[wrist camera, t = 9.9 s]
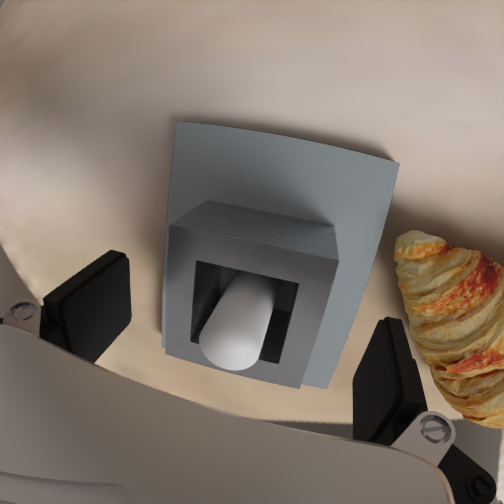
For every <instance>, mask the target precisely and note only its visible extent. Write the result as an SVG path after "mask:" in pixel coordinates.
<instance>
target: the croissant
mask: <svg viewBox="0 0 504 504" xmlns="http://www.w3.org/2000/svg"><path fill="white" fill-rule="evenodd" d="M394 260H395V261H396V262H397V263H398V265H397V266H396V274H397V275H398V286H399V287H400V289H401V292H402V295H403V302H404V306H405V311H406V312H407V314H408V319H409V322H410V325H409V327H410V333H411V336H412V339H413V341H414V343H415V345H416V347H417V349H418V351H419V353H420V355H421V356H422V357H423V359H424V360H425V361H427V362H428V363H429V364H430V370H431V374H432V378H433V380H434V383H435V385H436V386H437V388H438V390H439V391H440V392H441V393H442V395H443V396H444V397H445V400H446V401H447V402H448V403H449V404H450V405H451V406H452V407H453V408H454V409H455V410H457V411H458V412H460V413H461V414H462V415H463V418H465V419H467V420H468V421H473V422H474V423H477V424H480V425H482V426H484V427H489V428H504V266H503V265H500V264H498V263H497V262H495V261H494V260H492V259H491V258H490V257H489V256H487V255H486V254H485V253H483V252H482V251H477V250H475V251H473V250H470V249H469V250H466V249H464V248H462V247H461V248H451V246H450V245H448V243H447V241H445V240H444V239H442V238H441V237H436V236H432V235H428V234H425V233H424V232H422V231H417V230H410V231H408V232H406V233H405V234H402V235H400V236H399V237H398V238H397V239H396V242H395V249H394Z"/></svg>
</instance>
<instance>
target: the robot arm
mask: <svg viewBox="0 0 504 504" xmlns="http://www.w3.org/2000/svg"><path fill="white" fill-rule="evenodd" d="M43 301H44V305H43V306H40V305H39V303H37V302H36V301H33V300H19V301H17V302H14V303H13V304H11V305H9V307H8V308H7V309H6V311H5V314H4V318H0V504H503V503H502V501H501V500H499V501H498V502H497V501H496V500H495V499H494V498H495V495H496V484H495V481H494V479H493V478H492V476H491V475H490V474H489V473H488V472H486V471H485V470H484V469H483V468H481V467H480V466H479V465H478V464H477V463H475V462H474V461H473V460H472V459H470V458H469V457H468V456H467V455H466V454H464V453H463V452H462V451H461V450H459V449H458V448H457V447H456V446H454V445H453V444H452V443H453V441H454V439H455V429H454V426H453V424H452V423H451V421H450V420H449V419H448V418H447V417H446V416H444V415H442V414H441V413H438V412H435V411H428V408H427V404H426V399H425V395H424V391H423V387H422V382H421V378H420V375H419V371H418V367H417V363H416V361H415V359H413V358H412V355H411V351H410V347H409V344H408V340H407V336H406V333H405V330H404V326H403V323H402V320H401V319H396V318H391V317H385V318H384V320H381V319H380V320H379V321H378V323H377V326H376V328H375V330H374V333H373V335H372V337H371V340H370V342H369V344H368V346H367V349H366V351H365V353H364V355H363V357H362V360H361V362H360V364H359V366H358V368H357V370H356V372H355V375H354V378H353V384H352V385H353V439H347V438H341V437H336V436H330V435H324V434H319V433H314V432H309V431H304V430H299V429H294V428H289V427H284V426H280V425H275V424H271V423H267V422H263V421H259V420H255V419H251V418H247V417H243V416H240V415H236V414H233V413H229V412H225V411H222V410H219V409H215V408H212V407H209V406H205V405H202V404H199V403H196V402H193V401H190V400H187V399H184V398H181V397H178V396H175V395H172V394H169V393H166V392H163V391H161V390H158V389H155V388H152V387H150V386H147V385H145V384H142V383H139V382H137V381H134V380H132V379H129V378H127V377H124V376H122V375H119V374H117V373H115V372H112V371H110V370H108V369H105V368H103V367H101V366H98V365H96V364H94V363H95V362H96V360H97V359H98V358H99V357H100V356H101V355H102V354H103V353H104V351H105V350H106V349H107V348H108V347H109V346H110V345H111V344H112V342H113V341H114V340H115V339H116V338H117V337H118V336H119V335H120V333H121V332H122V331H123V330H124V329H125V328H126V327H127V326H128V325H129V323H130V321H131V317H132V313H131V294H130V266H129V259H128V258H126V254H125V253H122V252H118V251H115V250H110V251H108V252H107V253H105V254H104V255H102V256H101V257H99V258H98V259H96V260H95V261H94V262H92V263H91V264H89V265H88V266H86V267H85V268H84V269H82V270H81V271H79V272H78V273H77V274H75V275H74V276H72V277H71V278H70V279H68V280H67V281H65V282H64V283H63V284H61V285H60V286H59V287H57V288H56V289H54V290H53V291H52V292H50V293H49V294H48V295H46V296H45V297H44V298H43Z"/></svg>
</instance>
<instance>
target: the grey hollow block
mask: <svg viewBox="0 0 504 504" xmlns="http://www.w3.org/2000/svg"><path fill="white" fill-rule="evenodd" d="M338 263H339V254H338V247H337V240H336V233H335V227H334V226H333V225H328V224H323V223H319V222H314V221H310V220H305V219H300V218H296V217H291V216H286V215H281V214H276V213H271V212H266V211H261V210H256V209H251V208H246V207H241V206H236V205H231V204H225V203H220V202H215V201H209V200H207V201H205V202H204V203H202V204H201V205H199V206H197V207H196V208H194V209H193V210H191V211H189V212H188V213H186V214H185V215H183V216H182V217H180V218H178V219H177V220H175V221H174V222H172V223H171V224H169V239H168V258H167V282H166V336H165V345H166V354H167V355H170V356H173V357H177V358H180V359H183V360H186V361H190V362H193V363H196V364H200V365H203V366H207V367H210V368H214V369H218V370H221V371H225V372H229V373H233V374H237V375H240V376H244V377H248V378H253V379H257V380H261V381H265V382H270V383H274V384H279V385H283V386H288V387H293V388H298V389H299V388H300V386H301V383H302V380H303V377H304V374H305V371H306V368H307V365H308V362H309V359H310V356H311V353H312V350H313V347H314V344H315V341H316V338H317V335H318V332H319V329H320V325H321V322H322V319H323V316H324V312H325V309H326V306H327V302H328V299H329V296H330V292H331V289H332V285H333V282H334V278H335V274H336V271H337V267H338ZM222 266H224V267H229V268H233V269H238V270H242V271H246V272H251V273H255V274H260V275H264V276H269V277H273V278H278V279H282V280H287V281H291V282H296V287H295V291H294V295H293V299H292V304H291V308H290V312H288V311H283V310H279V309H274V308H273V310H272V314H271V317H270V321H269V324H268V328H267V331H266V334H265V338H264V341H263V345H262V348H261V351H260V355H259V358H258V360H257V361H256V362H255V363H254V364H253V365H252V366H251V367H249V368H247V369H243V370H227V369H224V368H221V367H218V366H217V365H215V364H213V363H212V362H211V361H209V360H208V359H207V358H206V357H205V355H204V354H203V352H202V350H201V348H200V344H199V336H200V333H201V331H202V329H203V328H204V326H205V324H206V323H207V321H208V319H209V318H210V316H211V314H212V313H213V311H214V309H215V308H216V306H217V304H218V303H219V301H220V299H221V298H222V296H219V289H220V280H221V272H222Z"/></svg>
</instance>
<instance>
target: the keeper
mask: <svg viewBox="0 0 504 504" xmlns="http://www.w3.org/2000/svg"><path fill="white" fill-rule="evenodd" d="M399 165H400V163H398V162H395V161H391V160H388V159H384V158H380V157H377V156H373V155H369V154H365V153H361V152H357V151H353V150H349V149H345V148H341V147H336V146H332V145H327V144H323V143H318V142H314V141H309V140H304V139H299V138H294V137H288V136H283V135H277V134H272V133H266V132H260V131H254V130H247V129H241V128H234V127H226V126H219V125H211V124H202V123H193V122H183V121H177V123H176V131H175V139H174V147H173V155H172V164H171V174H170V184H169V194H168V206H167V219H166V233H165V249H164V268H163V295H162V347H164V348H166V345H165V336H166V282H167V258H168V239H169V224H171V223H172V222H174V221H175V220H177V219H178V218H180V217H182V216H183V215H185V214H186V213H188V212H189V211H191V210H193V209H194V208H196V207H197V206H199V205H201V204H202V203H204V202H205V201H207V200H209V201H215V202H220V203H225V204H231V205H236V206H241V207H246V208H251V209H256V210H261V211H266V212H271V213H276V214H281V215H286V216H291V217H296V218H300V219H305V220H310V221H314V222H319V223H323V224H328V225H333V226H334V227H335V233H336V240H337V247H338V254H339V263H338V267H337V271H336V274H335V278H334V282H333V285H332V289H331V292H330V296H329V299H328V302H327V306H326V309H325V312H324V316H323V319H322V322H321V325H320V329H319V332H318V335H317V338H316V341H315V344H314V347H313V350H312V353H311V356H310V359H309V362H308V365H307V368H306V371H305V374H304V377H303V380H302V383H301V384H304V385H308V386H314V387H319V388H324V389H327V387H328V384H329V382H330V380H331V377H332V375H333V372H334V370H335V368H336V365H337V363H338V360H339V358H340V355H341V353H342V350H343V348H344V345H345V343H346V340H347V338H348V335H349V332H350V330H351V327H352V324H353V322H354V319H355V316H356V313H357V311H358V308H359V305H360V302H361V299H362V296H363V293H364V290H365V287H366V284H367V281H368V278H369V275H370V272H371V269H372V266H373V263H374V259H375V256H376V253H377V250H378V246H379V243H380V239H381V236H382V232H383V229H384V225H385V222H386V218H387V214H388V210H389V207H390V203H391V199H392V195H393V191H394V187H395V182H396V178H397V174H398V169H399ZM295 287H296V282H291V281H287V280H282V279H278V278H273V277H269V276H264V275H260V274H255V273H251V272H246V271H242V270H238V269H233V268H229V267H224V266H222V272H221V280H220V289H219V296H222V298H221V299H220V301H219V303H218V304H217V306H216V308H215V309H214V311H213V313H212V314H211V316H210V318H209V319H208V321H207V323H206V324H205V326H204V328H203V329H202V331H201V333H200V336H199V344H200V348H201V350H202V352H203V354H204V355H205V357H206V358H207V359H208V360H209V361H211V362H212V363H213V364H215V365H217V366H218V367H221V368H224V369H227V370H243V369H247V368H249V367H251V366H252V365H253V364H254V363H255V362H256V361H257V360H258V358H259V355H260V351H261V348H262V345H263V341H264V338H265V334H266V331H267V328H268V324H269V321H270V317H271V314H272V310H273V308H274V309H279V310H283V311H288V312H290V308H291V304H292V299H293V295H294V291H295Z"/></svg>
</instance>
